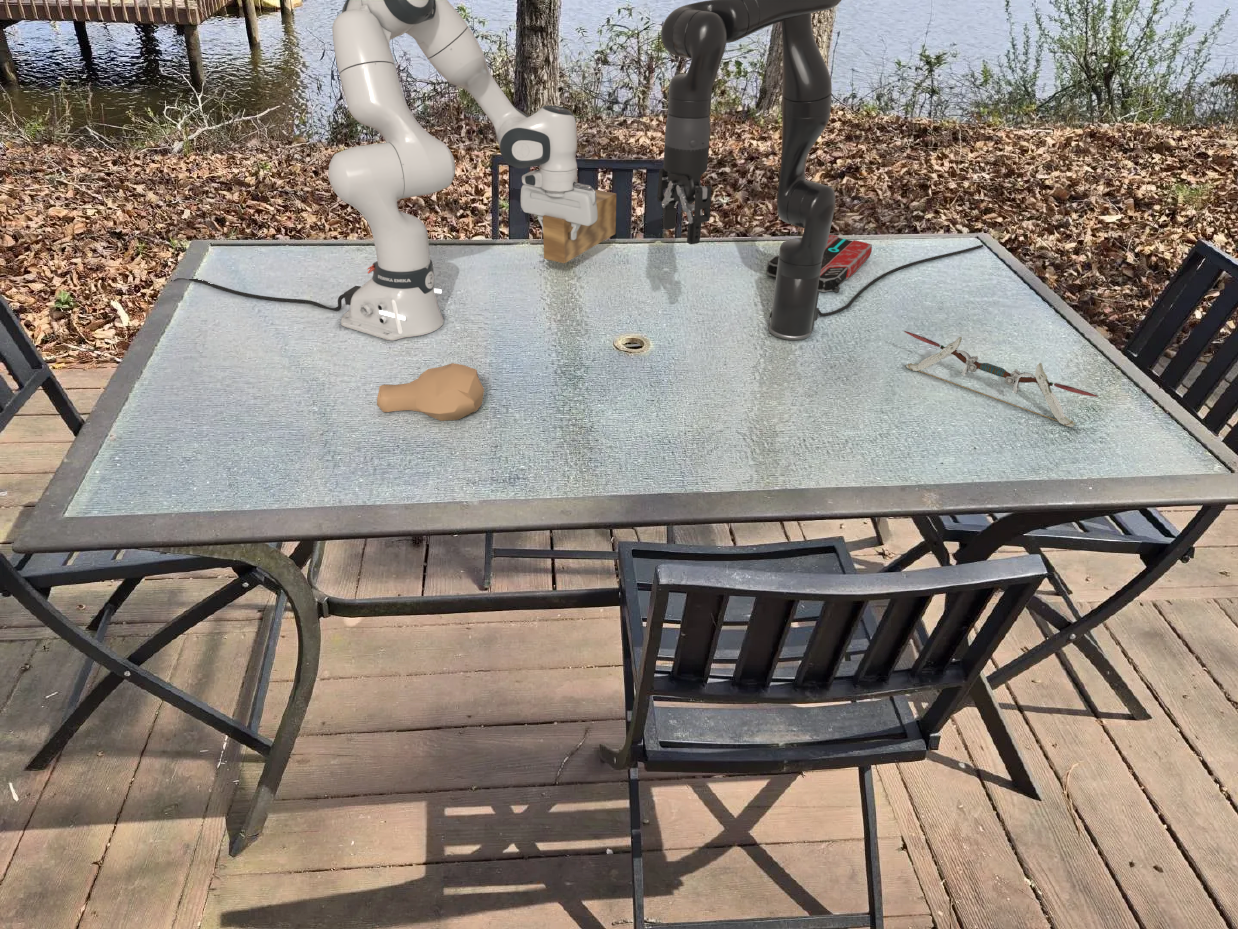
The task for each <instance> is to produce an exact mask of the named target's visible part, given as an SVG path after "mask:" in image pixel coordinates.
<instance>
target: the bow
mask: <svg viewBox="0 0 1238 929" xmlns="http://www.w3.org/2000/svg"><path fill="white" fill-rule="evenodd" d="M903 332H904V333H905V334H907V335H909V336H911V337H912V338H914V339H916V340H919V341H922V342H924V343H926V344H929V345H931V346H934V347H937V348H940V350H941V351H939V352H935V353H934V354H932V355H930V356H927V357H925V358H924V359H923V360H921V361H920V362H919V363H912V362H910V363H907V364H905V367H906V369H909V370H910V371H913V372H920V373H922V374H926V375H928V376H931V377H933V378H936V379H939V380H942V381H944V382H948V383H950V384H953V385H956V386H958V387H961V388H964V389H966V390H969V391H972V392H975V393H978V394H981V395H983V396H986V397H988V398H989V397H990V398H992V399H995V400H997V401H1000V402H1003V403H1005V404H1008V405H1011V406H1014V407H1017V408H1019V409H1022V410H1025V411H1028V412H1030V413H1033V414H1035V415H1039V416H1042V417H1045V418H1047V419H1050V420H1053V421H1056V422H1058V423H1059V424H1061V425H1062V426H1065V427H1069V428H1073V427H1074V426H1075V425H1076V424H1077V423H1076V422H1074V420H1071V419H1070V418H1069V417H1067V416H1066V415H1065V413H1064V410H1063V407H1062V405H1061V403H1060V401H1059V399H1058V397H1057V396H1056V394H1055V393H1054V392H1053V391H1052V388H1051V387H1053V386H1054V387H1056V388H1058V389H1061V390H1064V391H1067V392H1071V393H1075V394H1077V395H1083V396H1089V397H1095V398H1098V397H1099V395H1098V394H1094V393H1091V392H1089V391H1086V390H1083V389H1079V388H1078V387H1077V388H1076V387H1074V386H1069V385H1066V384H1063V383H1058V382H1055V383H1054V382H1052V381H1049V379H1048V378H1049V376H1048V375H1047V374H1046V372H1045V371H1044V367H1043V363H1042V362H1038V364H1037V366H1036V368H1035V372H1034V374H1032V373H1030V372H1027V371H1025V372H1021V371H1019V370H1018V369H1017V368H1015V369H1014V370H1013V371H1012V372H1009V371H1007V370H1006V369H1005V368H1003V367H1000V366H998V365H994V364H992V363H989V362H979V361H978V360H979V356H978V355H973V356H971V355H970V353H968V352H967V351H966V350H961V349H959V350H957V349H958V348H959V347H960V346H961V343H962V339H963V337H962V336H959V337H957V339H955V340H954V341H953V342H951V343H948V344H947V345H946V346H944V345H942V344H940V343H938V342H936V341H934V340H931V339H929V338H926V337H924V336H921V335H919V334H917V333H912V332H909V331H906V330H904V331H903ZM951 356H954V357H955V358H957V359H958V360H959V361H960V362H962V363H963V364H964V368H963V369H962V370H961V371H962V372H961V373H960V375H962V376H964V377H965V376H966V375H968V372H970V373H975V372H977V370H979V371H982V372H985V373H989V374H990V375H994V376H996V377H1000V378H1004V382H1005V384H1006V385H1007V386H1012V393H1013V394H1017V393H1019V391H1020V383H1021V384H1022V383H1023V384H1027V383H1029V384H1031V383H1035V385H1036V386H1037V387H1038V388H1039V390H1040V392H1041V394H1042V395H1043V397H1044V399H1045V400H1046V404H1047V405H1048V407H1049V409H1050V411H1051V414H1052V415H1053V416H1054V417H1055V418H1053V417H1051V416H1047V415H1044V414H1041V413H1039V412H1036V411H1034V410H1031V409H1027V408H1025V407H1022V406H1019V405H1017V404H1014V403H1012V402H1008V401H1005V400H1002V399H1001V398H996V397H994V396H992V395H989V394H986V393H983V392H980V391H977V390H975V389H972V388H970V387H967V386H963V385H961V384H958V383H956V382H952V381H951V380H947V379H944V378H941V377H938V376H936V375H934V374H931V373H928V372H925V371H922V370H924V369H929V368H930V367H932V366H933V365H935V364H936V363H938V362H940V361H942V360H945V359H947V358H949V357H951Z"/></svg>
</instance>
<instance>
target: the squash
mask: <svg viewBox="0 0 1238 929" xmlns="http://www.w3.org/2000/svg"><path fill="white" fill-rule="evenodd" d="M484 394H485V388H484V386H483V384H482V382H481V381H480V378H479V373H478V370H477V369H476V368H473V367H470V366H467V365H464V364H459V363H455V362H452V363H449V364H446V365H442V366H439V367H432V368H431V367H430V368H428V369H426V370H424V371H423V372H422V373H421V374H420V375H419V376H418V378H416V379H414V380H412V381H410V382H407V383H399V384H382V385H379V387H378V393H377V397H376V406H377V407H378V408H379V409H380V410H381V411H382V413H389V412H400V411H414V412H419V413H422V414H425V415H426V416H428V417H430V418H433V419H435V420H437V421H440V422H446V421H458V420H459V421H460V420H461V419H463V418H465V417H467V416H469V415H471V414H473V413H475V412H477V411H478V410H479V409H480V408H481V406H482V405H483V400H484Z"/></svg>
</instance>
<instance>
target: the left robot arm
mask: <svg viewBox="0 0 1238 929" xmlns="http://www.w3.org/2000/svg"><path fill="white" fill-rule="evenodd" d="M331 30H332V32H331V33H332V42H333V50H334V56H335V61H336V66H337V70H338V75H339V79H340V83H341V87H342V91H343V94H344V98H345V101H346V105H347V109H348V112H349V113H350V115H351V116H352V118H353V119H354V120H355V121H357V122H358V123H359V124H361V125H363V126H366V127H369V128H370V129H373V130H375V131H376V132H377V133H378V134H380V136H381V137H382V138H383V139H384V141H385V142H381V143H380V142H379V143H373V144H372V143H371V144H365V145H356V146H353V147H349V148H347V149H344V150H341V151H339V152H337V153H334V155H333V156H332V158H331V159H330V161H329V165H328V171H327V172H328V180H329V184H330V187H331V188H332V191H333V192H334V194H335V195H336V196H337V197H338V198H339V199H340V200H341V201H342V202H344V203H346V204H348V205H349V206H351V207H353V208H354V209H355V210H356V211H358V212H359V213H360V214H361V215H362V217H363V218H364V220H365V221H366V222H367V224H368V226H369V228H370V231H371V235H372V240H373V243H374V248H375V253H376V254H375V255H376V261H374V262H373V263H372V265H371V266H369V267H368V268H367V274H370V273H372V277H371V278H370V279H369V280H367V282H365V283H364V284H363V285H362V286H361V285H354V286H352V287H351V288H350V289H348V290H346V291H344V292H343V294H341V295H339V297H337V306H336V307H329V306H327V305H324V304H322V303H320V302H317V301H314V300H309V299H301V298H300V299H299V298H286V297H276V296H268V295H260V294H254V293H248V292H244V291H239V290H235V289H232V288H228V287H225V286H221V285H218V284H216V283H213V284H210V283H211V282H210V283H208V282H209V281H208V280H204V279H201V280H198V279H199V278H196V279H189V280H188V281H191V282H194V283H199V284H203V285H206V286H210V287H211V288H214V289H217V290H219V291H223V292H226V293H229V294H234V295H237V296H242V297H247V298H252V299H257V300H264V301H272V302H280V303H292V304H293V303H294V304H305V305H312V306H315V307H318V308H320V309H325V310H329V311H333V312H338V311H340V310H341V309H342V308H343V307H342V303H343V302H342V301H343V299H344V303H345V305H348V306H349V310H347V311H346V313H344V314H343V316H342V317H341V320H340V324H341V326H342V327H344V328H347V329H350V330H354V331H357V332H360V333H364V334H367V335H370V336H373V337H377V338H380V339H383V340H387V341H396V340H397V341H398V340H401V339H404V338H412V337H420V336H423V335H427V334H430V333H431V334H432V333H434V332H436V331H437V330H439V329H441V327H442V326H443V325H444V323H445V320H444V317H443V314H442V312H441V310H440V307H439V303H438V300H437V296H436V294H442V292H443V291H442V289H441V288H435V271H434V264H433V260H432V259H431V253H430V243H429V232H428V229H427V226H426V225H425V223H424V222H423V221H422V220H421V219H420V218H419V217H417V216H415V215H414V214H413V215H412V214H410V213H407V212H404V211H400V209H399V206H398V201H399V200H402V199H409V198H416V197H422V196H428V195H429V196H430V195H432V194H435V193H438V192H440V191H443V190H445V189H447V188H449V187H450V186H451V185H452V183H453V182H454V179H455V175H456V161H455V157H454V155H453V153H452V151H451V150H450V147H448V146H447V144H446V143H444V142H443V141H442V140H440V139H438V138H437V137H436V136H433V135H432V134H430V133H429V132H428V131H427V130H426V129H425V128H424V127H423V126H422V125H421V124H420V122H418V120H417V119H416V118H415V116H414V115H413V113H412V111H411V110H410V108H409V106H408V104H407V101H406V98H405V95H404V92H403V88H402V86H401V82H400V78H399V75H398V71H397V67H396V63H395V60H394V56H393V53H392V50H391V46H390V41H391V40H394V39H395V38H398V37H401V36H403V35H404V34H406V35H408V36H410V37H411V38H413V39H414V40H415V42H416V44H417V46H418V47H419V48H420V50H421V51H422V53H423V54H424V56H425V57H426V58H427V60H428V61H429V63H430V64H431V65H432V67H434V69H435V70H436V72H438V74H440V75H441V76H442V78H444V79H445V81H447V82H448V83H449V84H450V85H453V86H456V87H459V88H461V89H463V90H465V91H466V92H467V93H468V94H469V95H471V96H472V98H473V99H474V101H475V102H476V103H477V104H478V106H479V107H480V108H481V110H482V111H483V113H485V115H486V116H487V118H488V119H489V121H490V122H491V124H492V126H493V129H494V133H495V138H496V142H497V144H498V148H499V151H500V155H501V157H502V158H503V161H504V162H505V163H506V164H508V165H509V166H510V167H513V168H516V169H527V168H532V167H538V166H539V168H538V169H535V170H531V171H528V172H527V173H525V174H522V176H521V182H522V186H521V188H520V208H521V210H522V211H523V212H524V213H526V214H531V215H535V216H537V220H538V222H539V224H540V226H541V231H542V232H541V233H542V234H543V216H544V215H547V216H551V217H556V218H561V219H565V220H566V221H567V222H571V226H572V227H573V229H572V231H570V232H568V239H570V240H575V239H576V237H577V231H578V229H579V227H580V226H581V225H585V226H590V225H592V224H594V223H595V222H596V221H597V219H598V213H597V203H596V191H595V190H596V189H594V188H593V187H592V186H591V185H589V184H584V183H581V182H578V163H577V158H576V154H577V150H578V130H577V129H578V128H577V122H576V118H575V115H574V114H573V113H572V111H570V110H569V109H568V108H565V107H562V106H559V105H552V104H550V105H549V104H548V105H543V106H541V108H540V109H539V110H538V111H536V112H535V113H533V114H531V115H530V116H529V115H528V114H526V113H525V112H524V111H521V110H520V109H518V108H517V107H516V106H515V105H513V103H512V102H511V101H510V99H509V98H508V97H507V95H506V94H505V92H504V91H503V89H502V88H501V87H500V85H499V84H498V82H497V81H496V80H495V78H494V77H493V75H492V73H491V71H490V69H489V66H488V63H487V59H486V56H485V54H484V51H483V49H482V47H481V46H480V43H479V41H478V40H477V38H476V36H475V34H474V33H473V31H472V29H471V28H470V27H469V25H468V24H467V22H466V21H465V20H464V18H463V17H462V16H461V14H460V13H459V12H458V11H457V9H456V8H455V7H454V5H452V4H451V2H450V1H449V0H345V2H344V4H343V6H342V9H341V13H340V14H338V15H337V16H336V17H335V19H334V20H333V23H332V28H331ZM202 280H203V281H202Z"/></svg>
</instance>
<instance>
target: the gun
mask: <svg viewBox="0 0 1238 929" xmlns="http://www.w3.org/2000/svg"><path fill="white" fill-rule="evenodd" d="M872 252H873V244H871V243H868V242H864V241H861V240H855V239H853V240H851V239H845V238H842V237H840V236H839V235H837V234H831V233H829V238H828V243H827V246H826V249H825V251H824V254H823V259H822V265H821V272H820V278H819V285H818V291H819V292H822V293H826V292H834V293H840V289H841V287H840V286H842V284H843V283H844V282H845V281H847V280H849V279H850V278H851V277H852V276H853V275H855V274H856V273H857V272H858V271H859V270H860V269H861V267H862V266H863V265H864V264H865V263H866V262H867V261H868V260H869V258H870V256H871V254H872ZM778 259H779V254H777V255H775V256H774V257H773V258H770V260H768V261H767V265H766V274H765V275H768V276H770V277H772V278H773V277H774V278H776V274H777V266H778Z"/></svg>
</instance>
